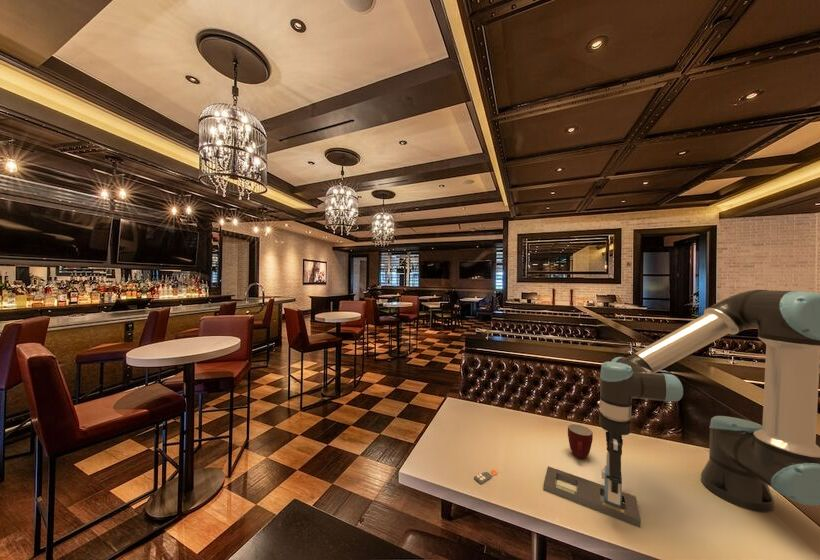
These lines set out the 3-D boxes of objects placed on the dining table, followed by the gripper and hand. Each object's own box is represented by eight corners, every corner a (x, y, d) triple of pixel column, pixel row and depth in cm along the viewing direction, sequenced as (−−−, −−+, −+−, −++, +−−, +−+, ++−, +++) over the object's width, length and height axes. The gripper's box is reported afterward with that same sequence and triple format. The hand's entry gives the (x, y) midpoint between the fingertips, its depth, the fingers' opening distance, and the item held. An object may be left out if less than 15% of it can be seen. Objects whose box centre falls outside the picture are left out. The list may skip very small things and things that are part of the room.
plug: (620, 503, 85) (620, 470, 84) (621, 513, 81) (622, 478, 81) (600, 496, 87) (601, 464, 87) (601, 505, 84) (601, 472, 84)
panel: (635, 503, 85) (636, 495, 85) (640, 527, 77) (640, 519, 76) (547, 471, 98) (547, 465, 98) (543, 489, 90) (543, 482, 90)
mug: (595, 469, 100) (596, 441, 99) (569, 463, 103) (570, 435, 103) (589, 452, 109) (590, 427, 109) (566, 447, 112) (566, 422, 112)
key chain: (481, 487, 91) (481, 482, 91) (473, 480, 94) (473, 475, 94) (507, 472, 98) (507, 468, 98) (499, 466, 101) (499, 462, 101)
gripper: (598, 398, 96) (597, 460, 96) (600, 430, 75) (597, 509, 76) (626, 403, 92) (624, 468, 92) (636, 440, 71) (633, 523, 71)
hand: (612, 487), depth 84 cm, fingers open, 13 cm apart
